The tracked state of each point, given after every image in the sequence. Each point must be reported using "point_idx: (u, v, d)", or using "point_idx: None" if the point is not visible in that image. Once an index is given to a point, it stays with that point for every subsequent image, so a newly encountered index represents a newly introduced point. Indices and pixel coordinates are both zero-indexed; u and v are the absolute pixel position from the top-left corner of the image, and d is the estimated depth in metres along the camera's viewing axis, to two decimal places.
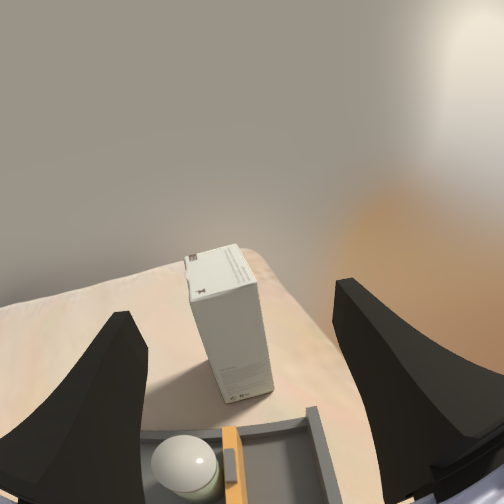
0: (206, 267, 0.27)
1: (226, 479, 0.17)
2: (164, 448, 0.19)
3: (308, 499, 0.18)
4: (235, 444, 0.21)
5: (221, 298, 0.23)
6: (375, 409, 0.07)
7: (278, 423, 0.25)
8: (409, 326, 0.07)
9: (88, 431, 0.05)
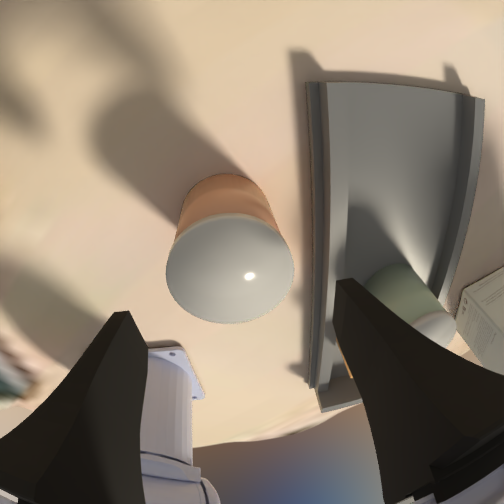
0: None
1: None
2: (447, 325, 0.15)
3: (340, 370, 0.26)
4: None
5: None
6: (375, 409, 0.07)
7: None
8: (409, 326, 0.07)
9: (88, 431, 0.05)
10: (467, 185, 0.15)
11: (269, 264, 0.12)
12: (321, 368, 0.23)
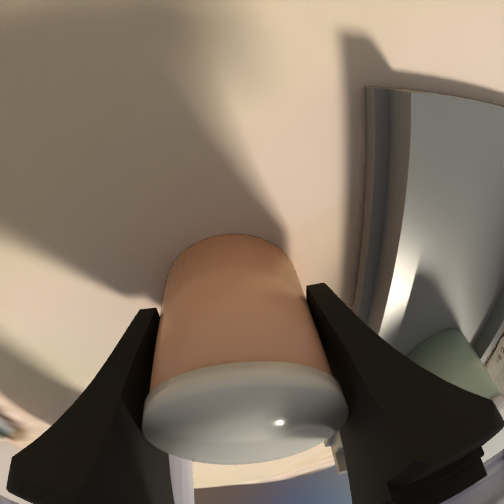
0: None
1: None
2: (498, 408, 0.10)
3: None
4: None
5: None
6: None
7: None
8: (375, 336, 0.07)
9: (123, 434, 0.05)
10: None
11: (311, 421, 0.06)
12: None
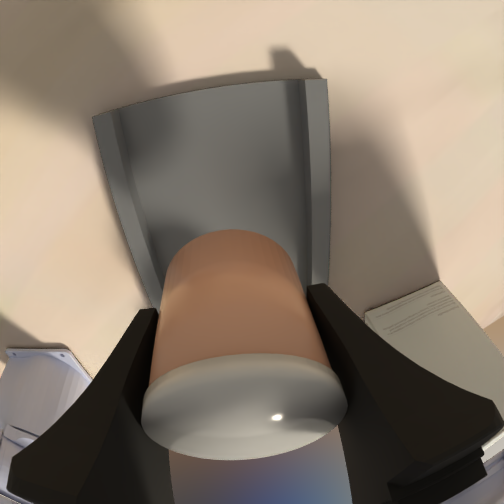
0: (491, 444, 0.11)
1: None
2: None
3: None
4: None
5: None
6: (343, 418, 0.07)
7: None
8: (376, 335, 0.07)
9: (123, 434, 0.05)
10: (312, 194, 0.15)
11: (310, 414, 0.06)
12: None
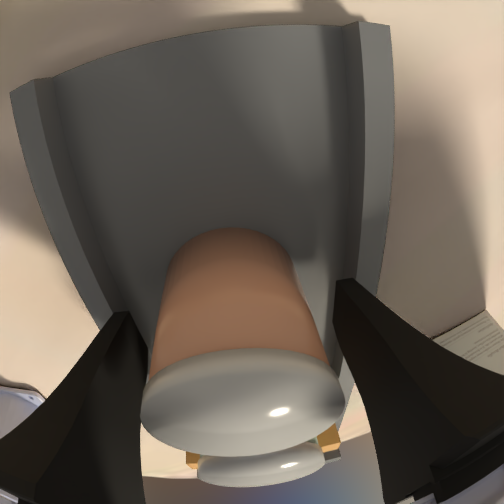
0: None
1: None
2: (293, 460, 0.09)
3: None
4: None
5: None
6: (375, 409, 0.07)
7: (337, 425, 0.18)
8: (409, 326, 0.07)
9: (88, 431, 0.05)
10: (363, 211, 0.09)
11: (308, 410, 0.06)
12: None
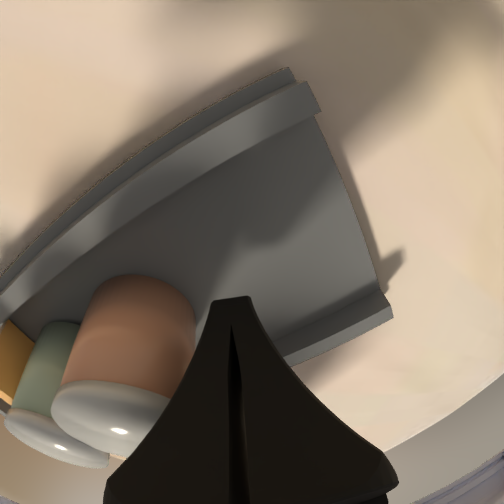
0: None
1: None
2: (93, 457, 0.09)
3: None
4: None
5: None
6: None
7: None
8: (276, 357, 0.07)
9: (234, 431, 0.05)
10: None
11: None
12: None
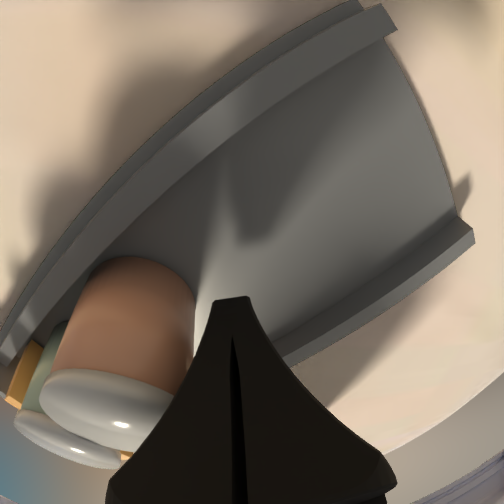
0: None
1: None
2: (91, 451, 0.09)
3: None
4: None
5: None
6: None
7: None
8: (275, 357, 0.07)
9: (236, 431, 0.05)
10: (372, 303, 0.12)
11: None
12: (10, 334, 0.11)
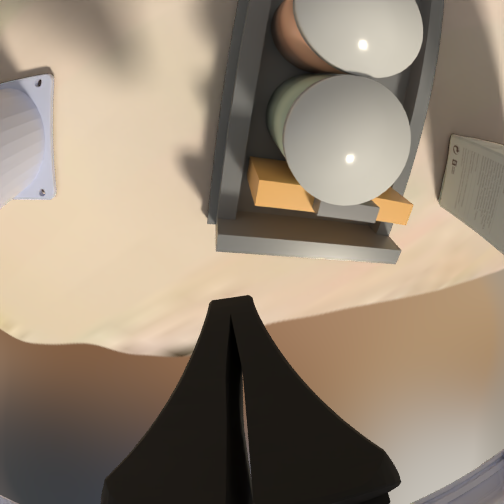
0: None
1: (323, 201, 0.12)
2: (375, 96, 0.09)
3: None
4: (378, 218, 0.14)
5: None
6: None
7: None
8: (278, 357, 0.07)
9: (232, 431, 0.05)
10: None
11: (402, 35, 0.08)
12: (228, 143, 0.14)
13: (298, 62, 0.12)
